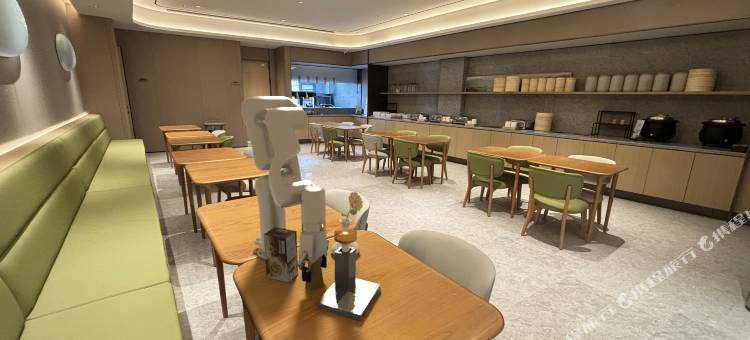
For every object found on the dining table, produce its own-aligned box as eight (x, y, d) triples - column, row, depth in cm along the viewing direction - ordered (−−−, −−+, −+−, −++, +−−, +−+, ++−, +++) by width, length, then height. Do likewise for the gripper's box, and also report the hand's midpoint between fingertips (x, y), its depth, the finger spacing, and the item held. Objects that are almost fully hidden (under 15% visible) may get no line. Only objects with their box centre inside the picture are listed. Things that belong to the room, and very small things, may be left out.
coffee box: (298, 273, 111) (297, 230, 107) (288, 283, 105) (286, 238, 101) (276, 268, 114) (274, 226, 110) (265, 277, 108) (262, 233, 104)
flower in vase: (341, 263, 119) (341, 199, 113) (325, 251, 127) (325, 191, 121) (368, 253, 127) (370, 193, 121) (352, 242, 135) (353, 186, 129)
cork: (320, 290, 102) (319, 259, 99) (302, 288, 103) (301, 257, 100) (326, 280, 107) (326, 250, 105) (309, 277, 109) (309, 248, 106)
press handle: (330, 273, 99) (330, 234, 96) (340, 262, 106) (340, 226, 102) (350, 278, 97) (350, 239, 94) (359, 267, 103) (360, 230, 100)
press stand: (316, 307, 94) (316, 265, 90) (341, 279, 108) (342, 242, 105) (360, 321, 89) (361, 276, 85) (380, 289, 103) (381, 250, 100)
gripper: (318, 214, 109) (318, 259, 113) (286, 233, 94) (289, 285, 98) (337, 217, 107) (337, 263, 111) (308, 238, 91) (310, 291, 95)
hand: (314, 273), depth 104 cm, fingers open, 9 cm apart
